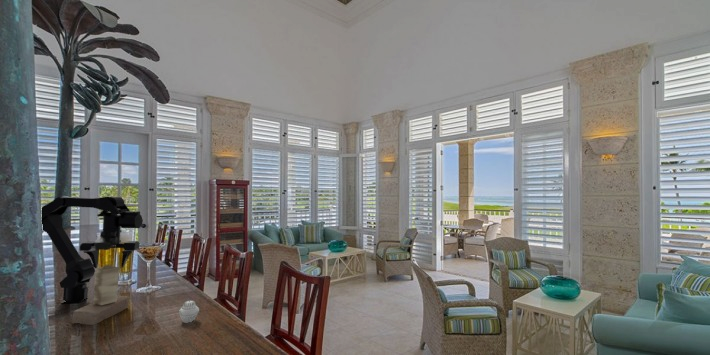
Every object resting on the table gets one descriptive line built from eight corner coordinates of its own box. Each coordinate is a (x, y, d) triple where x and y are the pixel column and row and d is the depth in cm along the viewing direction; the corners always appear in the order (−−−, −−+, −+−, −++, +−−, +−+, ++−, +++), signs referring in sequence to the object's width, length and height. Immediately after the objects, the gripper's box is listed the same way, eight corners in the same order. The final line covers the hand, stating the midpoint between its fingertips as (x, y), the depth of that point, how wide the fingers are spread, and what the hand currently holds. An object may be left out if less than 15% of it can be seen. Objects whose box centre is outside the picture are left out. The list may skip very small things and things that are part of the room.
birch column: (93, 302, 119) (95, 266, 119) (108, 299, 123) (111, 263, 124) (101, 305, 116) (103, 267, 117) (116, 301, 121) (119, 265, 122)
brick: (95, 325, 111) (96, 311, 111) (69, 324, 111) (70, 310, 111) (129, 308, 127) (130, 295, 127) (107, 307, 127) (108, 295, 128)
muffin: (175, 325, 113) (177, 303, 113) (181, 318, 119) (182, 297, 119) (195, 324, 114) (196, 303, 114) (200, 317, 120) (201, 297, 120)
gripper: (72, 230, 124) (69, 273, 123) (130, 230, 128) (127, 272, 128) (88, 227, 135) (86, 266, 134) (141, 227, 139) (138, 265, 139)
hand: (109, 267), depth 133 cm, fingers open, 9 cm apart
